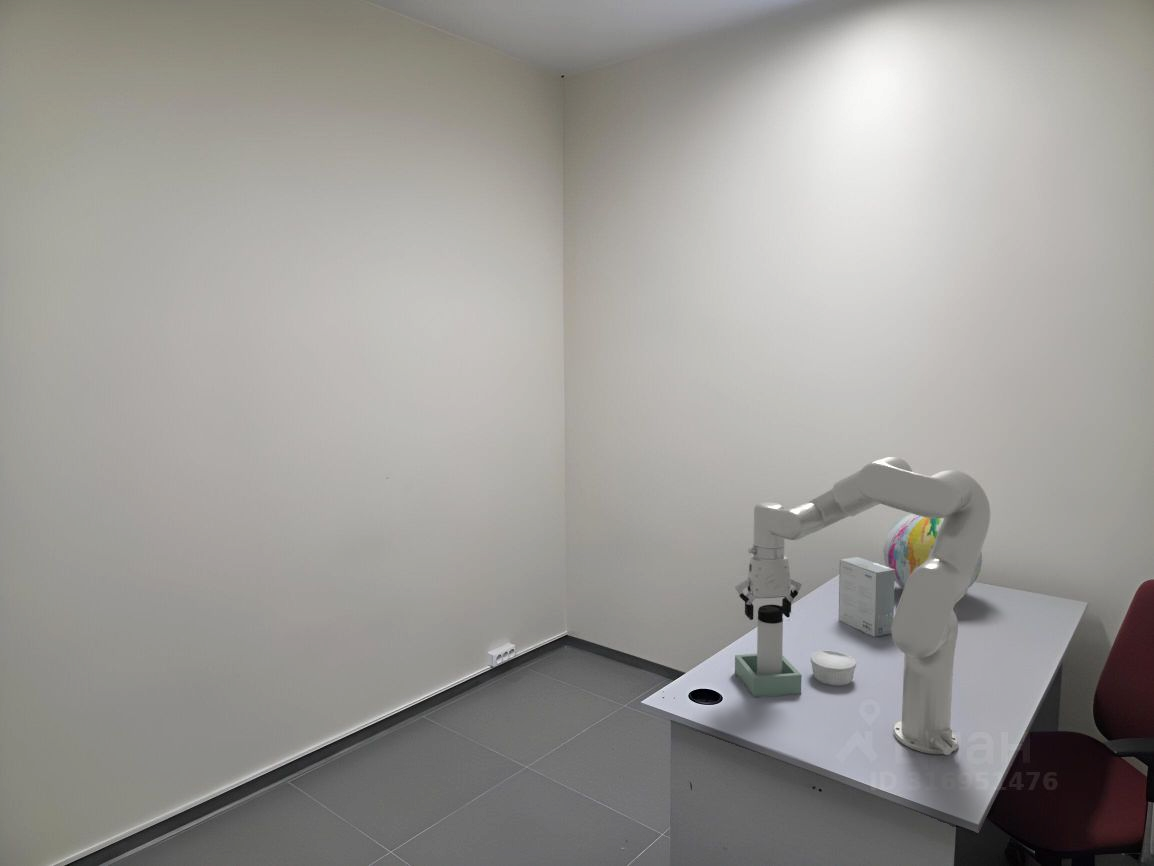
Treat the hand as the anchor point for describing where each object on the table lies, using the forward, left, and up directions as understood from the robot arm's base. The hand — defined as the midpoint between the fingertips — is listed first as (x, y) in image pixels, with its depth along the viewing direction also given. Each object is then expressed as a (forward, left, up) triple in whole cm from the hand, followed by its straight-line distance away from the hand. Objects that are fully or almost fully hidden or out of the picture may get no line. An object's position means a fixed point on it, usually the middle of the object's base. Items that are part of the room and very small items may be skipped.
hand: (767, 616), depth 177 cm
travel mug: (0, -1, -18) cm, 18 cm away
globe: (+50, -79, -18) cm, 95 cm away
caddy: (0, 0, -18) cm, 18 cm away
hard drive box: (+30, -44, -18) cm, 56 cm away
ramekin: (0, -18, -18) cm, 26 cm away
